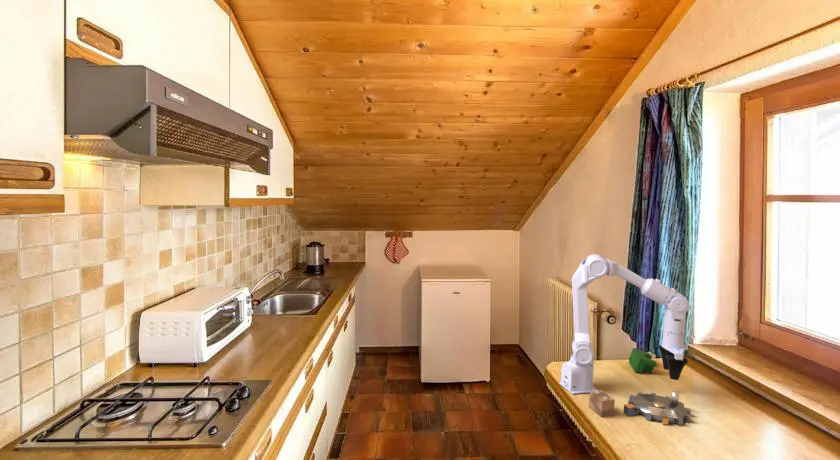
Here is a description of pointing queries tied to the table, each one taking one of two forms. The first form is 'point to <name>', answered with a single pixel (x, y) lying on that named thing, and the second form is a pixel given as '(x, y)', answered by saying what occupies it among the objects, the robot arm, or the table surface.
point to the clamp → (641, 361)
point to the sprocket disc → (661, 407)
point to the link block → (601, 403)
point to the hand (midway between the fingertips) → (670, 374)
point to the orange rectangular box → (629, 410)
